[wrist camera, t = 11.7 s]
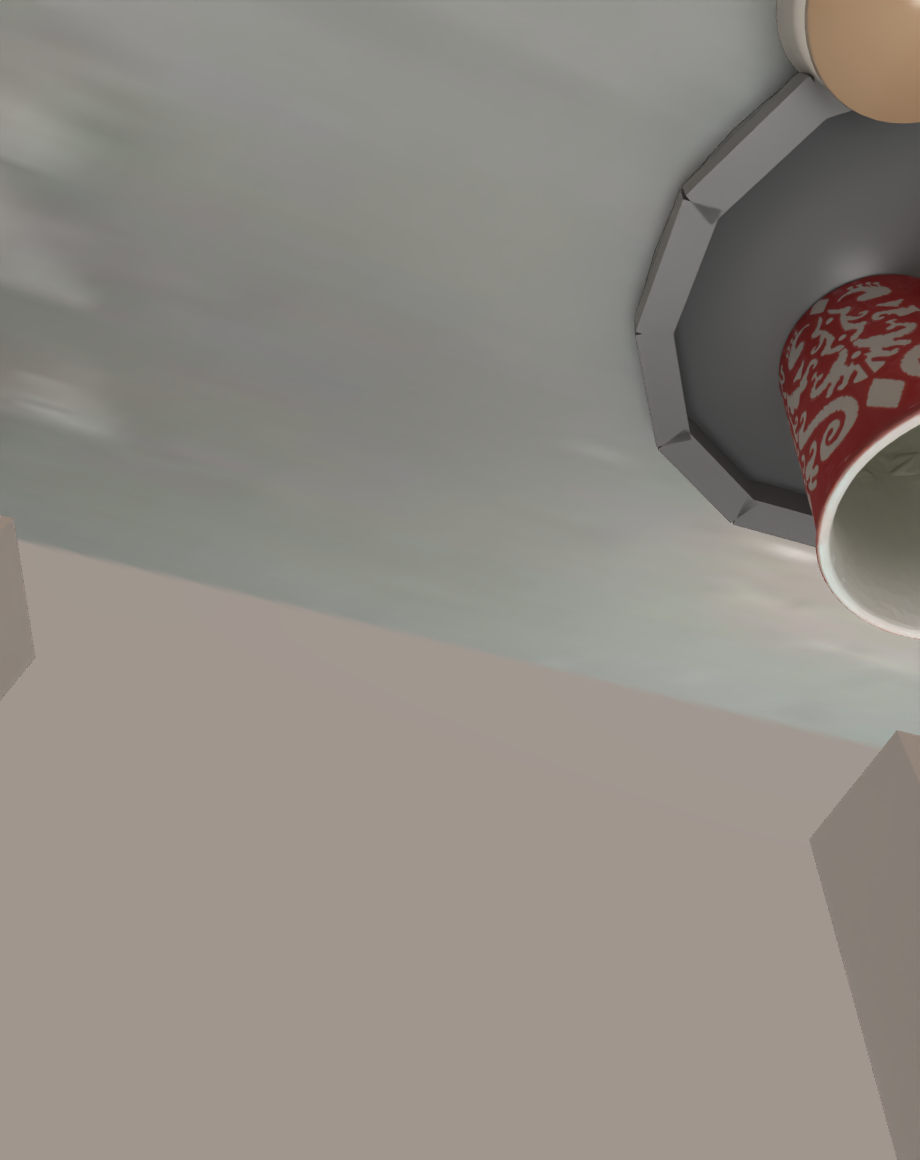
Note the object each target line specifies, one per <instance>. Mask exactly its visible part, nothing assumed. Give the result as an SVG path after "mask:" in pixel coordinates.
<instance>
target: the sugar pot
mask: <svg viewBox="0 0 920 1160" xmlns="http://www.w3.org/2000/svg"><path fill="white" fill-rule="evenodd" d="M776 16H777V28H778V34H779V38H780V41H781V45H782V47H783V50H784V52H785V54H786V56H787V58H788V59H789V61H790V62H791V64H792V65H793V66H794V68H795V69H796V70H797V71H798V72H800V73H804V74H806V75H809V76H812V77H815V78H816V79H817V80H818V81H819V82H820V83H822V84H823V85H824V86H825V88H826V89H827V90H828V91H829V92H830V93H831V94H832V96H833V97H834V98H836V99H837V100H838V101H839V102H841V103H842V104H843V105H844V106H846V107H848V108H849V109H851V110H853V111H855V112H857V113H859V114H861V115H864V116H866V117H869V118H872V119H875V120H878V121H883V122H889V123H905V124H906V123H917V122H920V0H777V7H776Z"/></svg>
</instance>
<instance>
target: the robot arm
mask: <svg viewBox="0 0 920 1160" xmlns="http://www.w3.org/2000/svg"><path fill="white" fill-rule="evenodd" d="M34 659H35V652H34V645H33V640H32V632H31V626H30V620H29V613H28V607H27V601H26V594H25V588H24V581H23V575H22V569H21V562H20V556H19V549H18V543H17V536H16V530H15V524H14V518H10V517H6V516H2V515H0V700H1V699H2V698H3V696H4V695H5V694H6V693H7V692H8V690H9V689H10V688H11V687H12V685H13V684H14V683H15V682H16V681H17V679H18V678H19V677H20V676H21V674H22V673H23V672H24V671H25V670H26V668H27V667H28V666H29V665H30V664H31V662H32V661H33V660H34ZM810 844H811V847H812V851H813V855H814V858H815V862H816V866H817V869H818V873H819V877H820V880H821V884H822V887H823V891H824V895H825V899H826V902H827V906H828V910H829V913H830V917H831V920H832V924H833V928H834V931H835V935H836V939H837V942H838V946H839V949H840V953H841V957H842V960H843V964H844V967H845V971H846V975H847V979H848V982H849V986H850V990H851V993H852V997H853V1000H854V1004H855V1008H856V1011H857V1015H858V1019H859V1022H860V1026H861V1030H862V1033H863V1037H864V1041H865V1044H866V1048H867V1051H868V1055H869V1058H870V1062H871V1066H872V1070H873V1073H874V1077H875V1081H876V1084H877V1088H878V1091H879V1095H880V1099H881V1102H882V1106H883V1110H884V1113H885V1117H886V1121H887V1124H888V1128H889V1132H890V1135H891V1138H892V1142H893V1146H894V1150H895V1153H896V1156H897V1160H920V736H918V735H914V734H910V733H905V732H901V731H896V732H895V734H894V735H893V736H892V737H891V739H890V740H889V741H888V742H887V743H886V745H885V746H884V747H883V748H882V750H881V751H880V752H879V753H878V755H877V756H876V758H874V760H873V761H872V762H871V763H870V765H869V766H868V767H867V768H866V770H865V771H864V772H863V773H862V775H861V776H860V777H859V778H858V779H857V781H856V782H855V783H854V784H853V786H852V787H851V788H850V789H849V791H848V792H847V793H846V794H845V796H844V797H843V798H842V799H841V801H840V802H839V803H838V804H837V806H836V807H835V808H834V809H833V811H832V812H831V813H830V814H829V816H828V817H827V818H826V819H825V820H824V822H823V823H822V824H821V826H820V827H819V828H818V829H817V830H816V832H815V833H814V834H813V835H812V837H811V838H810Z"/></svg>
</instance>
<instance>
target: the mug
mask: <svg viewBox="0 0 920 1160" xmlns="http://www.w3.org/2000/svg"><path fill="white" fill-rule="evenodd" d="M779 387H780V391H781V395H782V400H783V404H784V407H785V411H786V415H787V418H788V422H789V425H790V432H791V435H792V439H793V443H794V447H795V450H796V454H797V458H798V461H799V465H800V468H801V472H802V476H803V481H804V485H805V490H806V493H807V497H808V501H809V504H810V508H811V511H812V515H813V520H814V523H815V528H816V553H817V559H818V564H819V568H820V571H821V573H822V576H823V578H824V580H825V582H826V583H827V585H828V586H829V588H830V590H831V591H832V593H833V594H834V595H835V596H836V597H837V599H838V600H839V601H840V602H841V603H842V604H843V605H844V606H845V607H846V608H848V609H849V610H850V611H851V612H852V613H854V614H855V615H857V616H858V617H859V618H861V619H863V620H864V621H866V622H868V623H869V624H871V625H873V626H875V627H878V628H880V629H882V630H884V631H887V632H890V633H894V634H897V635H901V636H905V637H909V638H915V639H920V278H917V277H913V276H908V275H899V274H888V275H876V276H870V277H866V278H862V279H859V280H856V281H853V282H850V283H848V284H845V285H843V286H841V287H839V288H837V289H836V290H834V291H832V292H830V293H829V294H827V295H826V296H824V297H823V298H822V299H820V300H819V301H818V302H817V303H816V304H814V305H813V306H812V307H811V308H810V309H809V310H808V311H807V312H806V313H805V314H804V315H803V316H802V317H801V319H800V320H799V321H798V322H797V324H796V325H795V327H794V328H793V330H792V331H791V333H790V334H789V336H788V339H787V341H786V343H785V345H784V348H783V351H782V355H781V358H780V365H779Z"/></svg>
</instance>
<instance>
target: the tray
mask: <svg viewBox="0 0 920 1160" xmlns="http://www.w3.org/2000/svg"><path fill="white" fill-rule="evenodd" d="M682 187H683V190H684V191H683V190H679V193H678V196H677V199H676V202H675V205H674V207H673V210H672V213H671V215H670V217H669V219H668V221H667V224H666V226H665V228H664V231H663V233H662V235H661V238H660V240H659V243H658V245H657V247H656V250H655V253H654V256H653V260H652V263H651V267H650V270H649V274H648V277H647V281H646V286H645V289H644V292H643V295H642V298H641V301H640V303H639V306H638V309H637V312H636V315H635V321H634V322H635V336H636V342H637V347H638V352H639V357H640V362H641V368H642V373H643V378H644V383H645V389H646V394H647V399H648V404H649V409H650V415H651V420H652V425H653V430H654V435H655V441H656V446H657V447H658V450H659V451H660V452H661V453H662V454H663V455H664V456H665V457H666V458H667V459H668V460H669V461H670V462H671V463H672V464H673V465H674V466H675V467H676V468H677V469H678V470H679V471H680V472H681V473H682V474H683V475H684V476H685V477H686V478H687V479H688V480H689V481H690V482H691V483H692V484H693V485H694V486H695V487H696V488H697V489H698V490H699V491H700V493H701V494H702V495H703V496H704V497H705V498H706V499H707V500H708V501H709V502H710V503H711V504H712V505H713V506H714V507H715V508H716V509H717V510H718V511H719V512H720V513H721V514H722V515H723V516H724V517H725V518H726V519H727V520H728V521H729V522H730V523H731V522H733V525H737V526H740V527H744V528H748V529H751V530H755V531H759V532H762V533H766V534H770V535H773V536H777V537H781V538H784V539H788V540H792V541H795V542H799V543H803V544H806V545H810V546H814V547H816V528H815V523H814V520H813V515H812V511H811V508H810V504H809V501H808V497H807V493H806V490H805V485H804V481H803V476H802V472H801V468H800V465H799V461H798V458H797V454H796V450H795V447H794V443H793V439H792V435H791V432H790V425H789V422H788V418H787V415H786V411H785V407H784V404H783V400H782V395H781V391H780V387H779V365H780V358H781V355H782V351H783V348H784V345H785V343H786V341H787V339H788V336H789V334H790V333H791V331H792V330H793V328H794V327H795V325H796V324H797V322H798V321H799V320H800V319H801V317H802V316H803V315H804V314H805V313H806V312H807V311H808V310H809V309H810V308H811V307H812V306H813V305H814V304H816V303H817V302H818V301H819V300H820V299H822V298H823V297H824V296H826V295H827V294H829V293H830V292H832V291H834V290H836V289H837V288H839V287H841V286H843V285H845V284H848V283H850V282H853V281H856V280H859V279H862V278H866V277H870V276H876V275H888V274H899V275H908V276H913V277H917V278H920V122H917V123H906V124H905V123H889V122H883V121H878V120H875V119H872V118H869V117H866V116H864V115H861V114H859V113H857V112H855V111H853V110H851V109H849V108H848V107H846V106H844V105H843V104H842V103H841V102H839V101H838V100H837V99H836V98H834V97H833V96H832V94H831V93H830V92H829V91H828V90H827V89H826V88H825V86H824V85H823V84H822V83H820V82H819V81H818V80H817V79H816V78H815V77H812V76H809V75H806V74H804V73H800V72H798V73H797V74H796V75H795V76H794V77H793V78H792V79H791V80H790V81H789V82H788V83H787V84H786V85H785V86H784V87H783V88H782V89H781V90H780V91H779V92H778V93H776V94H775V95H774V96H772V97H771V98H769V99H768V100H766V101H765V102H764V103H763V104H762V105H760V106H759V107H758V108H757V109H756V110H755V111H754V112H753V113H751V114H750V115H749V116H748V117H747V118H746V119H745V120H743V121H742V122H741V123H740V124H739V125H738V126H737V127H735V128H734V129H733V131H732V132H731V133H730V134H729V135H728V136H727V137H726V138H725V139H724V140H723V142H722V143H721V144H720V145H719V146H718V147H717V148H716V149H715V150H714V151H713V153H712V154H711V155H710V156H709V157H708V158H707V160H706V161H705V162H704V164H703V165H702V166H701V168H700V169H699V170H698V171H697V172H696V173H695V174H694V175H693V176H692V177H691V178H690V179H689V180H688V181H687V182H686V183H685V184H684V185H683V186H682Z"/></svg>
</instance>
